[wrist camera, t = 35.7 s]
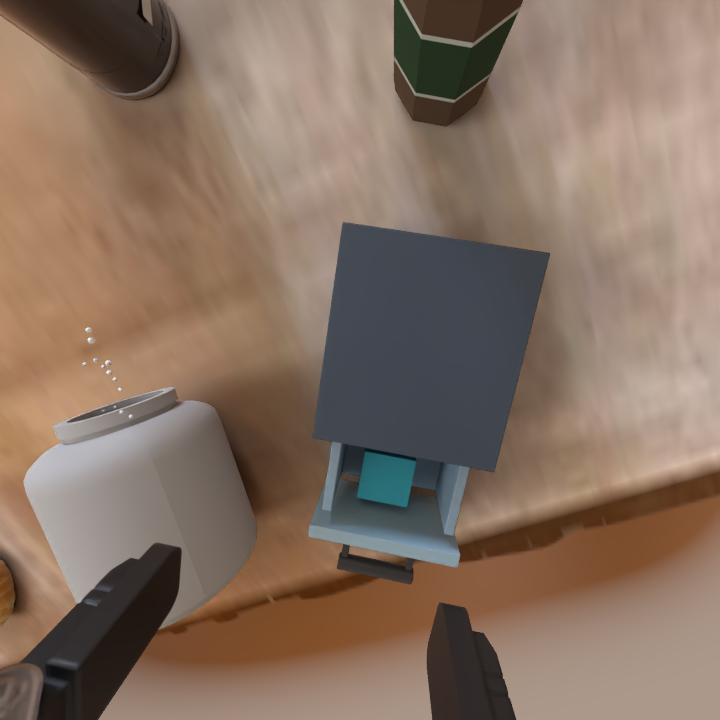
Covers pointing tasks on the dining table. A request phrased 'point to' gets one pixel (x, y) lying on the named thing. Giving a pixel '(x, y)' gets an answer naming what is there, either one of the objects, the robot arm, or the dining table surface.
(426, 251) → the cabinet
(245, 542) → the grey rounded piece
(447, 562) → the drawer
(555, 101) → the dining table surface
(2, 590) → the pastry
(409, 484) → the teal cube block
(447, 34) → the beer bottle
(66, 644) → the robot arm
